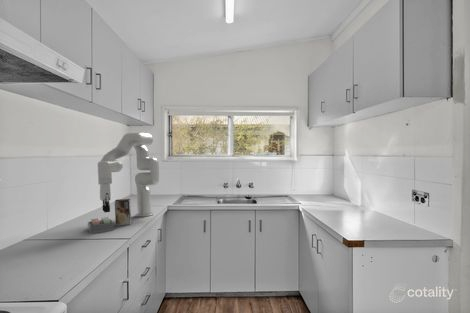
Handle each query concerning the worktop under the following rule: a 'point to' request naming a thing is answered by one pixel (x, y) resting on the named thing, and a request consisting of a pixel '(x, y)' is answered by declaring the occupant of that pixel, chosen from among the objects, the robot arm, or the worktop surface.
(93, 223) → the key terracotta
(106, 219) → the key sage
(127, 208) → the coffee box
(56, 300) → the worktop surface
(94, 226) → the keyguard
